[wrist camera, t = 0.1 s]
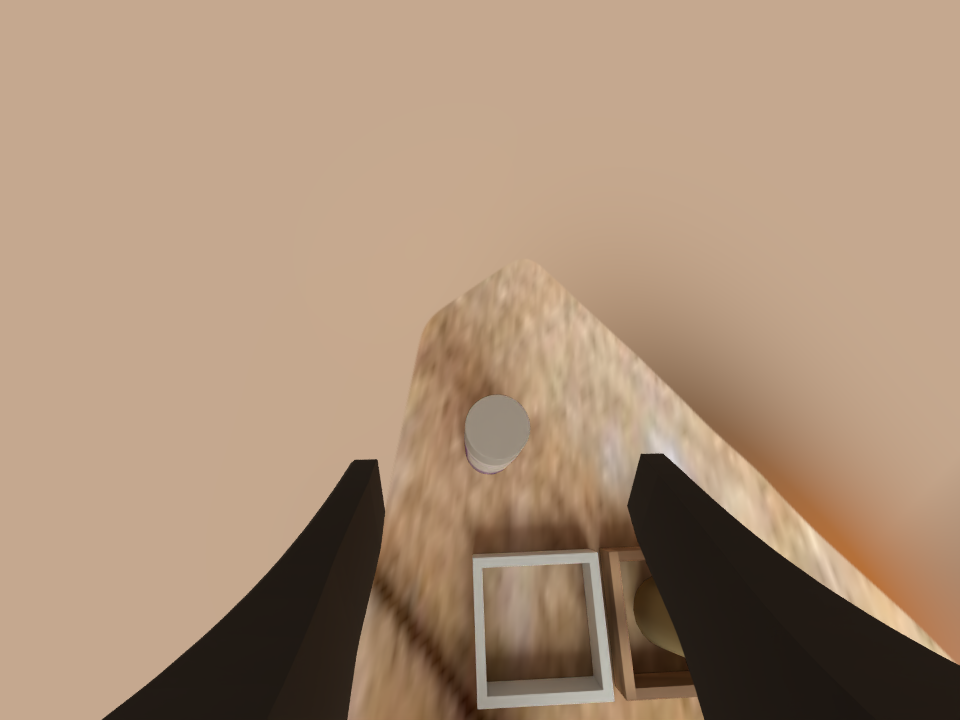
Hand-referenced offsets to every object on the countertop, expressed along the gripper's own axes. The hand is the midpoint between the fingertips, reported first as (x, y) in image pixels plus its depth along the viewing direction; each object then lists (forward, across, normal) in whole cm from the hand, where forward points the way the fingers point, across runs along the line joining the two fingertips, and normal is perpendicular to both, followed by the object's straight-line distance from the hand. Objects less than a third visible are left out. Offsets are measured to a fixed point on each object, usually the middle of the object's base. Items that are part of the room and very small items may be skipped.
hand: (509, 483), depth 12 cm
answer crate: (+13, -5, +31) cm, 34 cm away
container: (+24, -1, +21) cm, 32 cm away
